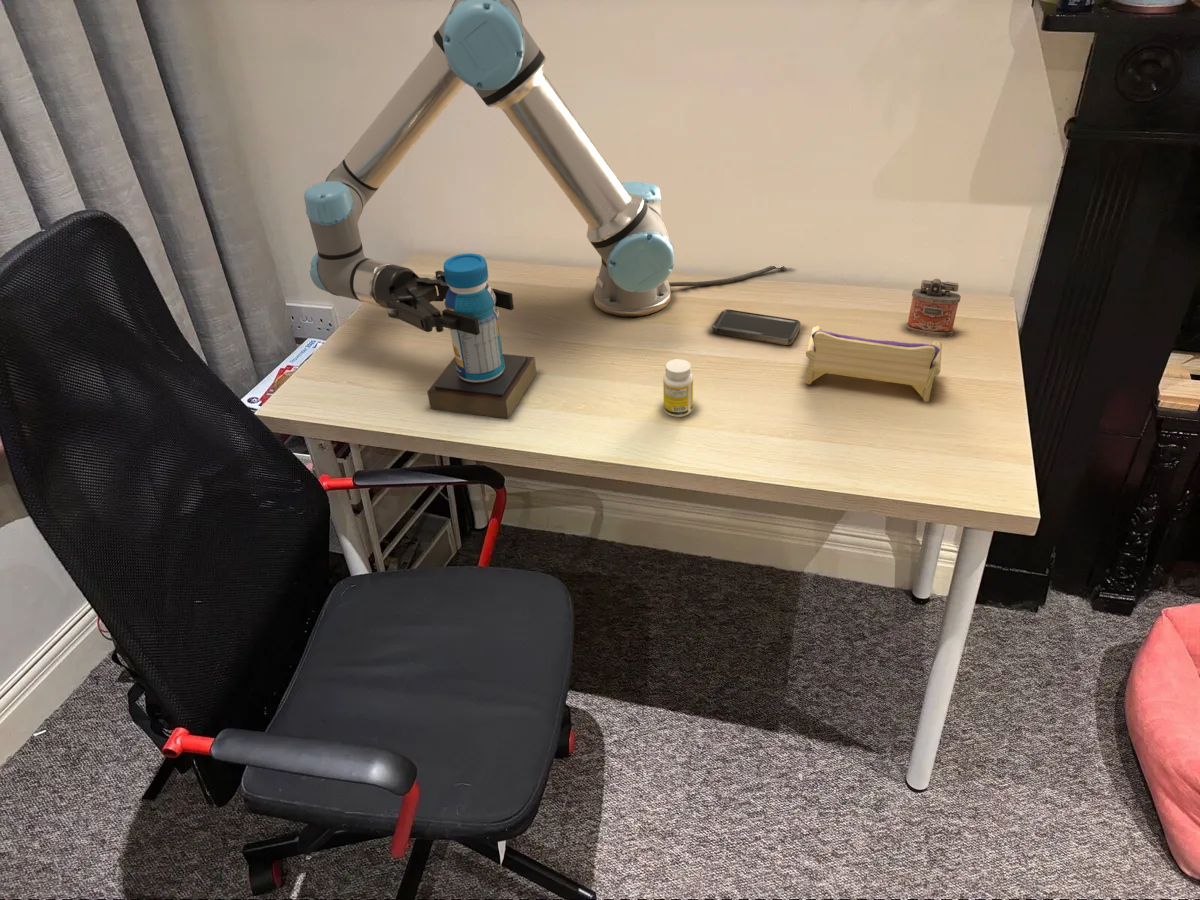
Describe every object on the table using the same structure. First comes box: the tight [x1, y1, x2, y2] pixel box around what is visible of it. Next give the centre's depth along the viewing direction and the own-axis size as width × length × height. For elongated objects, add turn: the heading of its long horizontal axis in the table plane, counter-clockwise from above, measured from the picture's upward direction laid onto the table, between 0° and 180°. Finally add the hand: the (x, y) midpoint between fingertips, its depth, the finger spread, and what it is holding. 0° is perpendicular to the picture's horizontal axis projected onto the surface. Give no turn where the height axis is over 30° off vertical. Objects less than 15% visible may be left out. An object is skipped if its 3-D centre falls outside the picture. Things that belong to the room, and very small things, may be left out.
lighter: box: [905, 278, 962, 338], centre depth 153 cm, size 8×3×10 cm, turn 68°
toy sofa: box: [805, 325, 943, 403], centre depth 141 cm, size 21×9×10 cm, turn 71°
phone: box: [712, 308, 801, 346], centre depth 160 cm, size 8×1×15 cm
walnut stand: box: [427, 353, 537, 420], centre depth 147 cm, size 14×14×4 cm
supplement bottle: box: [662, 358, 694, 418], centre depth 138 cm, size 5×5×8 cm
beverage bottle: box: [443, 253, 505, 383], centre depth 139 cm, size 8×8×20 cm
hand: (494, 313), depth 136 cm, fingers closed on beverage bottle, 8 cm apart
